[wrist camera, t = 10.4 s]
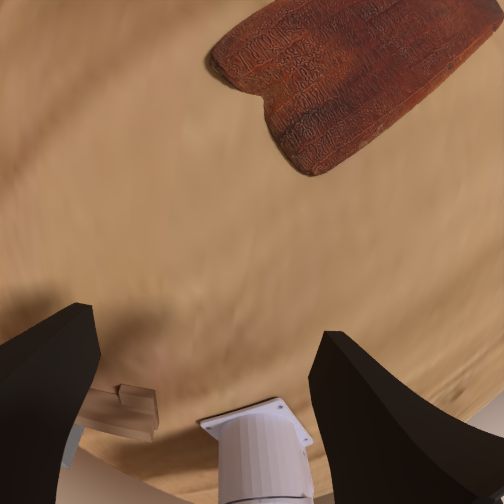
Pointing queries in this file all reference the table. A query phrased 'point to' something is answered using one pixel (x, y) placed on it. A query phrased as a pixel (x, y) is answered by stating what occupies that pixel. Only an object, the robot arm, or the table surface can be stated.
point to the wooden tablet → (347, 66)
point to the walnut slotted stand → (121, 412)
